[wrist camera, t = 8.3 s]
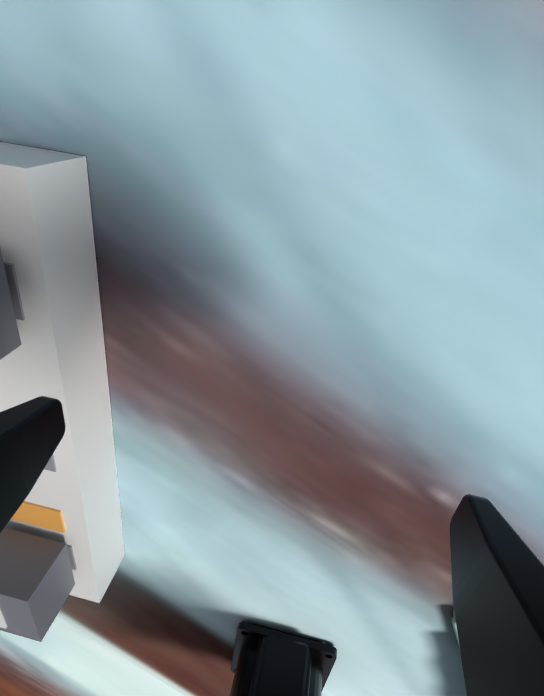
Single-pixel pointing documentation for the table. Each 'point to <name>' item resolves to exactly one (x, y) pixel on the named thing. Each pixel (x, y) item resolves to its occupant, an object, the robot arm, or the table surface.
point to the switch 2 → (32, 582)
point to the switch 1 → (7, 317)
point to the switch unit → (61, 357)
